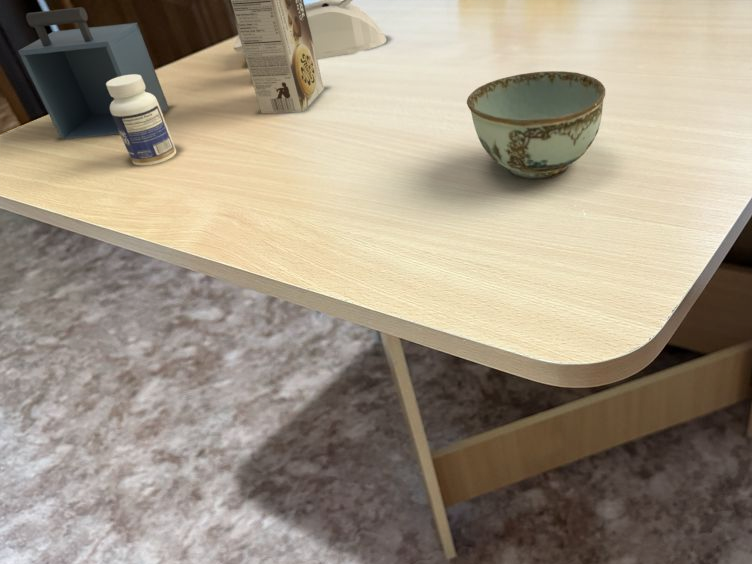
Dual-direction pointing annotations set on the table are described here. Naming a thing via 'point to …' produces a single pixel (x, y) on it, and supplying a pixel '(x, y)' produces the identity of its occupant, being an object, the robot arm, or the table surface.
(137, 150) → the pill bottle
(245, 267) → the table surface
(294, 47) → the cookie box
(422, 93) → the table surface
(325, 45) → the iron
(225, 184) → the table surface
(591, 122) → the bowl
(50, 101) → the drawer
